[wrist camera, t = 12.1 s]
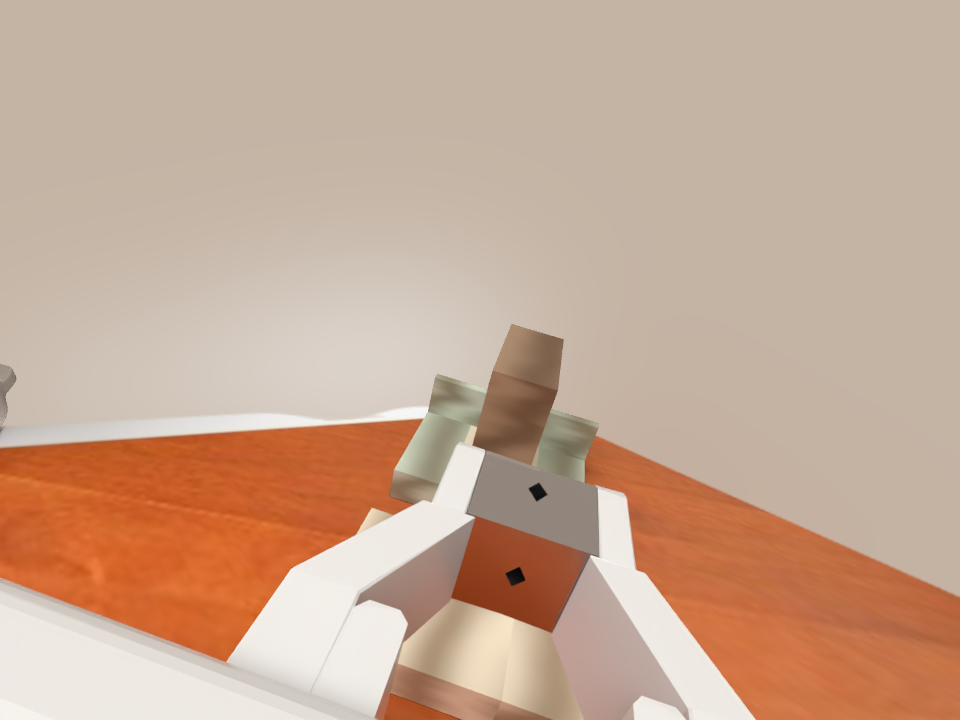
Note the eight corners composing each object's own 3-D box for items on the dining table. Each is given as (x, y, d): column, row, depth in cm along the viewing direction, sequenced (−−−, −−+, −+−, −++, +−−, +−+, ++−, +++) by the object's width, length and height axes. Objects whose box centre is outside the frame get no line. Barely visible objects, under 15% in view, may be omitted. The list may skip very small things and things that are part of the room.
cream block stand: (299, 659, 27) (305, 581, 24) (425, 431, 48) (437, 374, 45) (566, 758, 26) (611, 689, 22) (574, 478, 47) (598, 423, 44)
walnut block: (457, 500, 36) (492, 370, 31) (480, 436, 44) (511, 324, 39) (512, 518, 36) (557, 390, 31) (525, 451, 44) (563, 339, 39)
